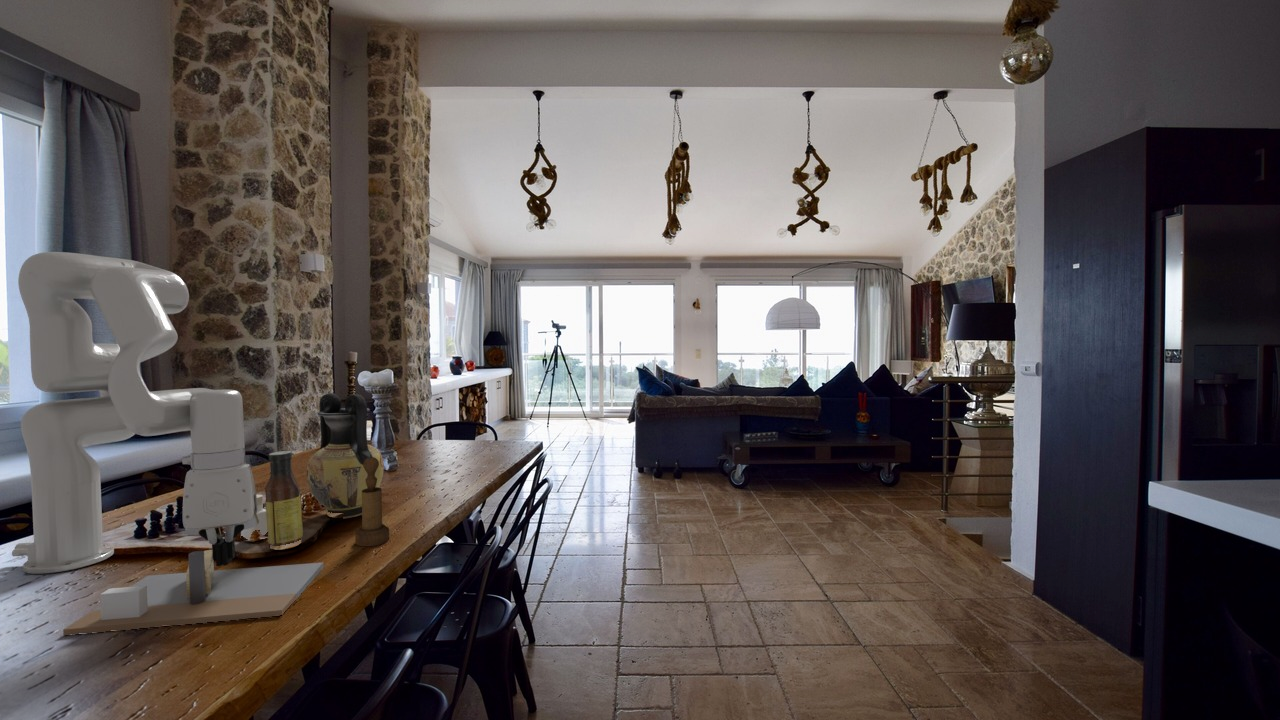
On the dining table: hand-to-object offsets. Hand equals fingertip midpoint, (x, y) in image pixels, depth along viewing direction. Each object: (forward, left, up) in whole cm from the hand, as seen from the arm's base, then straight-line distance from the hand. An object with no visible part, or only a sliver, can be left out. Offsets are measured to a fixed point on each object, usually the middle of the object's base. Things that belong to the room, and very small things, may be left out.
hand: (224, 562), depth 102 cm
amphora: (+9, +40, -4) cm, 41 cm away
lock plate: (0, -5, -4) cm, 7 cm away
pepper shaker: (-5, +24, -4) cm, 25 cm away
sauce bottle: (+3, +18, -4) cm, 19 cm away
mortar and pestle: (+20, +18, -4) cm, 27 cm away
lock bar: (-2, -3, -2) cm, 4 cm away
